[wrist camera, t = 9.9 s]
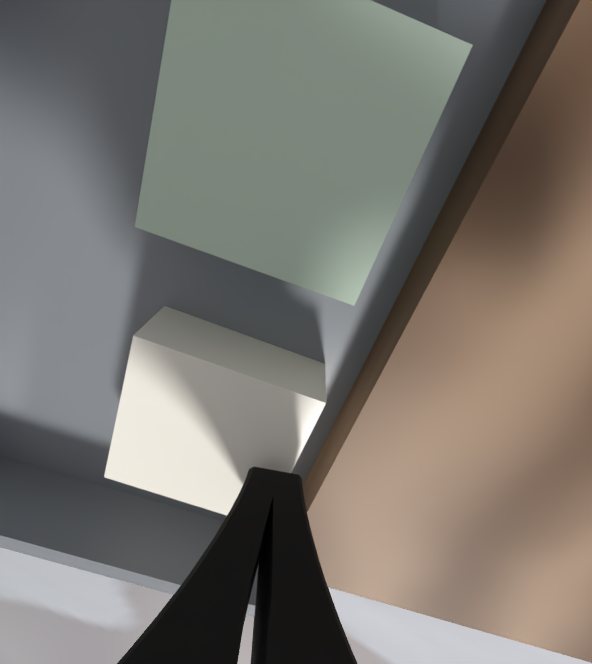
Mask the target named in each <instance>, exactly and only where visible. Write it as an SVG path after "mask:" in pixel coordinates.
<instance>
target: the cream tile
mask: <svg viewBox="0 0 592 664" xmlns="http://www.w3.org/2000/svg"><path fill="white" fill-rule="evenodd" d="M325 404H326V370H325V364H324V363H321V362H319V361H316V360H313V359H310V358H308V357H305V356H302V355H299V354H297V353H294V352H291V351H288V350H285V349H283V348H280V347H277V346H274V345H272V344H269V343H266V342H263V341H261V340H258V339H255V338H252V337H250V336H247V335H244V334H241V333H239V332H236V331H233V330H230V329H227V328H225V327H222V326H219V325H216V324H214V323H211V322H208V321H205V320H203V319H200V318H197V317H194V316H192V315H189V314H186V313H183V312H181V311H178V310H175V309H172V308H169V307H167V306H164V307H163V308H162V309H161V310H160V311H159V312H158V313H157V314H155V315H154V316H153V317H152V318H151V319H150V320H149V321H148V322H147V323H146V324H145V325H144V326H143V327H142V328H141V329H140V330H139V331H137V332H136V333H135V334H134V335H133V339H132V344H131V349H130V354H129V359H128V364H127V368H126V373H125V378H124V383H123V388H122V393H121V397H120V402H119V407H118V412H117V417H116V421H115V426H114V431H113V436H112V441H111V446H110V450H109V455H108V460H107V465H106V470H105V475H104V477H105V478H108V479H111V480H115V481H118V482H121V483H124V484H127V485H131V486H134V487H137V488H140V489H143V490H147V491H150V492H153V493H156V494H160V495H163V496H166V497H169V498H172V499H176V500H179V501H182V502H185V503H188V504H192V505H195V506H198V507H201V508H204V509H208V510H211V511H214V512H217V513H220V514H224V515H228V513H229V512H230V510H231V508H232V506H233V504H234V502H235V500H236V499H237V497H238V495H239V493H240V491H241V488H242V486H243V484H244V482H245V479H246V477H247V474H248V471H249V469H250V468H252V467H260V468H265V469H271V470H276V471H282V472H287V473H291V472H292V470H293V468H294V466H295V464H296V462H297V460H298V458H299V456H300V454H301V452H302V450H303V448H304V446H305V444H306V442H307V440H308V438H309V436H310V434H311V432H312V430H313V428H314V426H315V424H316V422H317V420H318V418H319V416H320V414H321V412H322V410H323V408H324V406H325Z"/></svg>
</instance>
